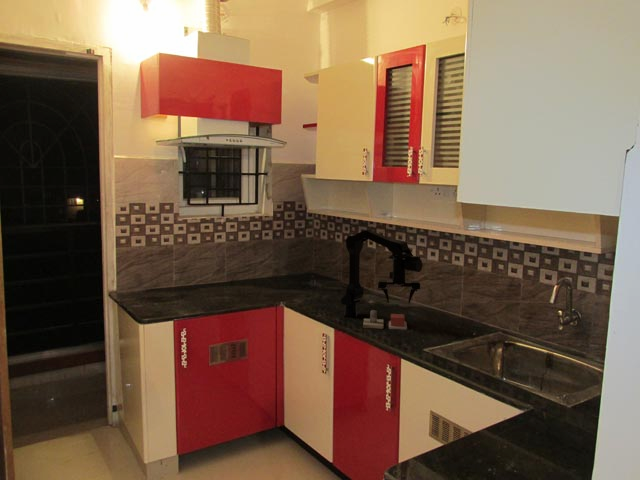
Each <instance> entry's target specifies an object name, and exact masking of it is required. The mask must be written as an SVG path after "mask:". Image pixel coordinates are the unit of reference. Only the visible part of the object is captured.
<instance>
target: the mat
mask: <svg viewBox="0 0 640 480" xmlns="http://www.w3.org/2000/svg"><path fill="white" fill-rule="evenodd" d="M407 325H408V324H407V321H405V322H404V327H403V326H391V320H388V329H389V330H402V331H403V330H405V331H406V330H408V326H407Z"/></svg>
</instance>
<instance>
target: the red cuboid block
mask: <svg viewBox="0 0 640 480" xmlns="http://www.w3.org/2000/svg"><path fill="white" fill-rule="evenodd" d="M405 319H406V318H405V314H404V313H401V314H400V313H390V321H391V326H403V327H404V322H406V321H405Z"/></svg>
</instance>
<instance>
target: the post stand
mask: <svg viewBox="0 0 640 480" xmlns="http://www.w3.org/2000/svg"><path fill="white" fill-rule="evenodd" d="M369 314H370V315H369V318H363V325H362V328H363V329H379V330H381V329H384V319H383V318H378V311H377V310H375V309H374V310H370V313H369Z"/></svg>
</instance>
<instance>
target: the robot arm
mask: <svg viewBox="0 0 640 480" xmlns="http://www.w3.org/2000/svg"><path fill="white" fill-rule="evenodd" d="M367 241H371V242H373V243H375V244H378V245H379V246H381V247H382V246H383V247H384V248H386V249H387V250H388V252H389V253H391V255H390V256H388V259H390V260H391V259H392V271H389V276H388V277H389V278H388V279H389V280H392V281H388V279H378V282H377V289H380V290H381V291H382V292H383V293H384V295H385V298H386V301H387V303H388V304H389V302H390V298H389V290H388V289H389V288H388V287H398V288H399V287H401V288H403V287H406V288H409V293H408V301H407V302H408V304H410V303H411V300H412V298H413V296H414V294H415V293H416V292H418V290H421V282H420V281H419V280H410V282H406V279H407V278H406V273H407V272H406V271H409V272H416V273H420V272H421V271H422V269H423V266H424V265H423V261H422V259H421V256H419V255H416V256H415V255H413V252H412V251H411V250H410V248H409V245H408V243H407V241H406V240H405V241H404V240H401V239H393V238H391V237H388V236H386V235H383V234H381V233H379V232H376V231H374V230H372V229H369V228H367V229H363V230H362V231H359V232H358V233H355V234H353V235H348V236H347V237H346V239H345V246H346V250H347V252H348V255H349V259H348V261H349V263H348V265H349V266H348V270H349V271H348V274H349V275H348V285H347V287H346V289H345V295H344V296H343V297H342V298H340V302H341V303H340V304H342V305H343V306H344V313H343V318H358V312H357V304H358V303H360V302H361V300H362V298H363V296H364V295H365V293H364V286H362V285H361V283H360V260H361V259H360V256H361V255H360V254H361V252H362V250H363V247H364V243H365V242H367Z"/></svg>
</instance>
